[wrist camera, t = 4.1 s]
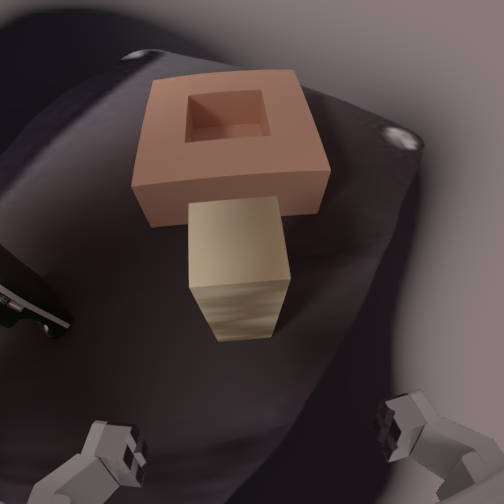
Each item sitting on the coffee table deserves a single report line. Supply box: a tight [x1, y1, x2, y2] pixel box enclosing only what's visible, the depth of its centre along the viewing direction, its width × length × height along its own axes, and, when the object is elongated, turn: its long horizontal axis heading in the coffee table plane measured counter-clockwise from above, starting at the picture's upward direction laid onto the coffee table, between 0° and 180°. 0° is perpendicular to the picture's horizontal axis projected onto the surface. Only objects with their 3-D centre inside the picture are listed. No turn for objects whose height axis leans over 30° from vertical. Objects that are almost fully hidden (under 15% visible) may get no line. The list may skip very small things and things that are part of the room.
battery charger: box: [0, 244, 73, 339], centre depth 18 cm, size 7×4×11 cm, turn 54°
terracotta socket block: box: [131, 70, 331, 228], centre depth 28 cm, size 15×15×6 cm
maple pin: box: [188, 196, 291, 342], centre depth 18 cm, size 4×4×12 cm
